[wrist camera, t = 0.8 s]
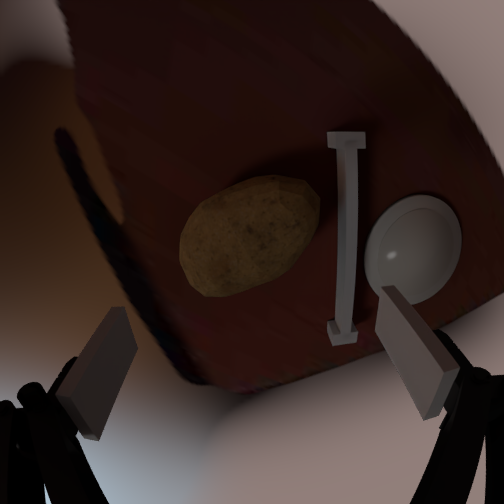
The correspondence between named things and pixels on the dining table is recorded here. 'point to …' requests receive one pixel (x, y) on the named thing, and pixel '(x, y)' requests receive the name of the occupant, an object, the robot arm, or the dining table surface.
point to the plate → (413, 247)
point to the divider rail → (346, 233)
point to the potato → (248, 234)
